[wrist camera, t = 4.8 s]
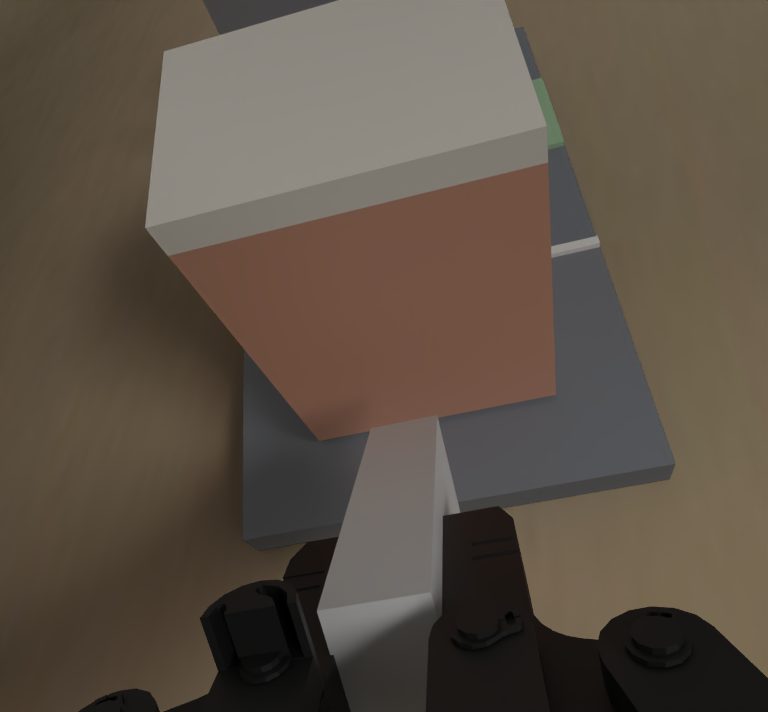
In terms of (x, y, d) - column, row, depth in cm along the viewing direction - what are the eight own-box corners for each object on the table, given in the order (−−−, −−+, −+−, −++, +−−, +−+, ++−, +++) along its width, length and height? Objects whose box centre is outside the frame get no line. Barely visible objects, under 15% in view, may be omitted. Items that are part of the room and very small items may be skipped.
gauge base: (524, 52, 28) (512, -137, 22) (669, 479, 19) (719, 350, 13) (255, 125, 30) (177, -32, 24) (258, 550, 20) (126, 467, 14)
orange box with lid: (519, 257, 22) (490, -45, 13) (556, 394, 19) (546, 126, 11) (311, 304, 23) (163, 51, 14) (319, 441, 20) (145, 228, 12)
